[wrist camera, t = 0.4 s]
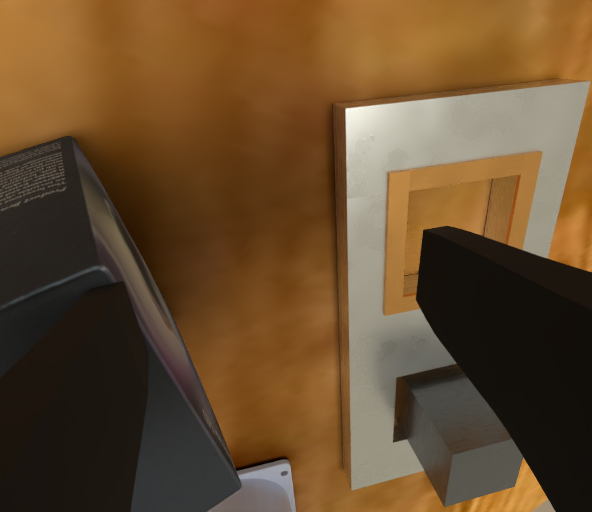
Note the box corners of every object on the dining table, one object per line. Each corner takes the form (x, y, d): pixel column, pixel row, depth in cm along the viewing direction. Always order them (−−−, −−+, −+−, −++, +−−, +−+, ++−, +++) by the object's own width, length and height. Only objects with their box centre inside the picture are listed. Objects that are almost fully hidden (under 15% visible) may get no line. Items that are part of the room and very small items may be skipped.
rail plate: (486, 430, 33) (502, 451, 31) (343, 467, 31) (352, 493, 29) (560, 78, 21) (594, 81, 19) (332, 103, 19) (347, 109, 17)
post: (449, 397, 30) (514, 486, 24) (391, 411, 29) (444, 507, 23) (455, 350, 28) (529, 434, 22) (394, 363, 27) (452, 455, 21)
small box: (179, 315, 22) (254, 492, 14) (55, 375, 20) (65, 614, 13) (79, 127, 16) (118, 263, 8) (-115, 191, 14) (-315, 451, 6)
